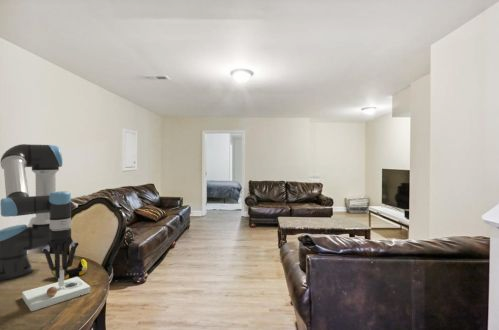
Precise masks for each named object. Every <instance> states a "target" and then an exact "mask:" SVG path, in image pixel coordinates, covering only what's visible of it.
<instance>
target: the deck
mask: <svg viewBox="0 0 499 330" xmlns="http://www.w3.org/2000/svg"><path fill="white" fill-rule="evenodd" d="M72 282H73V283H75V284H76V286H73V287H68V288H67V286H68V284H70V283H72ZM50 287H56V288H57V293H56V294H55V295H54V296H48V295H47V290H48V289H49V288H50ZM91 290H92V289H91V286H90V285H89V284H88V283H87V282H85V281H84V280H82V279H81V278H80V276H76V277H72V278H68V279H64V286H59V285H58V281H57V282H53V283H50V284H45V285H41V286H39V287H36V288H32V289H27V290H24V291H21V292H22V293H21V297H22V298H21V299H22V300H23V301H24V303H25V304H26V306H27V307H28V309H29V311H30V312H34V311H38V310H40V309H43V308H47V307H50V306H52V305H56V304H60V303H62V302H66V301H68V300H72V299H74V298H78V297H81V296H84V295H87V294H90V293H91ZM80 295H81V296H80Z"/></svg>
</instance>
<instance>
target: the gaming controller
mask: <svg viewBox="0 0 499 330" xmlns="http://www.w3.org/2000/svg"><path fill="white" fill-rule="evenodd" d="M54 267H55V265H54ZM87 270H88V262H87V261H86V260H85V259H83V258H82V259H80V260H79V262H78V265H77V267H74V268H70V269H67V276H65V277H64V280H67V279H71V278H74V277H80V276H82V275H84V274H86V272H87ZM50 272H51V274H52V275H53V276H54V277H55V271H52V270H50Z"/></svg>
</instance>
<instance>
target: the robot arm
mask: <svg viewBox="0 0 499 330" xmlns="http://www.w3.org/2000/svg"><path fill="white" fill-rule="evenodd" d="M61 167H63V154H62V152H61V148H60V147H59V146H57V145H52V144H26V143H24V144H22V143H21V144H17V145H14V146H12V147H10V148H8V149H7V150H6V151H5V152H4V153H3V154H2V155H1V158H0V168H1V169H2V170H3V175H4V187H5V188H4V189H5V197H4V198H1V199H0V216H1V217H19V216H26V215H27V216H28V215H34V214H35V220H33V222H32V224H31V226H28V225H27V224H16V225H13V226H8V227H5V228H2V229H0V281H2V280H9V279H15V278H19V277H22V276H26V275H27V274H29V273H31V272H32V269H33V268H32V266H33V265H32V263H31V261H30V259H29V257H28V251H31V250H32V251H33V250H38V249H41V251H42V253H44V256H45V258H46V261H47V265H48V268H49V270H50V271H51V270H52V271H55V276H54V277H55V279H57V282H58V285H59V286H64V280H65V279H64V277H65V276H67V270H68V268H69V267H72V266H73V263H74V259H75V253H76V249H77V248H78V247H79V245H80V244H79V242H77V241H74V240H73V238H72V228H71V227H72V198H71V197H72V196H71V192H70V191H66V190H65V191H56V187H57V186H56V185H57V184H56V173H58V171H60V170H59V169H60V168H61ZM26 168H31V172H33V173H34V174H35V195H34V196H33V195H32V196H30V194H29V193H30V191H29V186H28V180H27V175H26ZM69 247H70V250H69V255H68V248H69ZM50 249H51V250H52V251H53V253H54V262H53V259H52V257H51V256H52V255H51V253H50ZM54 266H55V267H54ZM61 267H62V268H61Z"/></svg>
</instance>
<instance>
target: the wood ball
mask: <svg viewBox="0 0 499 330" xmlns="http://www.w3.org/2000/svg"><path fill="white" fill-rule="evenodd" d="M56 293H57V288H56V287H50V288H49V289H48V290H47V295H48V296H54V295H55V294H56Z"/></svg>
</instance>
